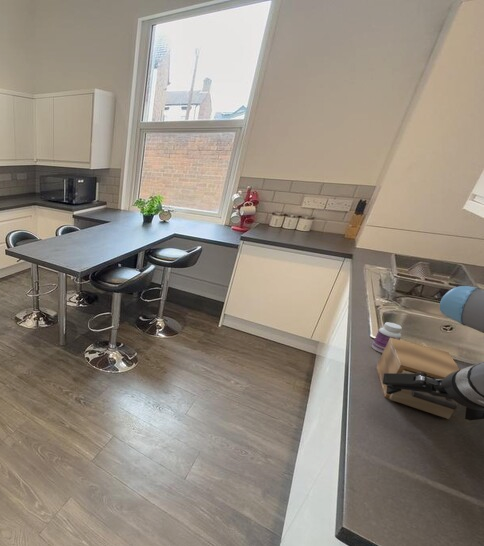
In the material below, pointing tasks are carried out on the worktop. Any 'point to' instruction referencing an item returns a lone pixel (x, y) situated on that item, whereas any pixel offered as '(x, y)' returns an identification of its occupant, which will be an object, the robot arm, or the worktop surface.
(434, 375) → the cabinet
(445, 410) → the drawer
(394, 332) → the pill bottle
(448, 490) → the worktop surface
